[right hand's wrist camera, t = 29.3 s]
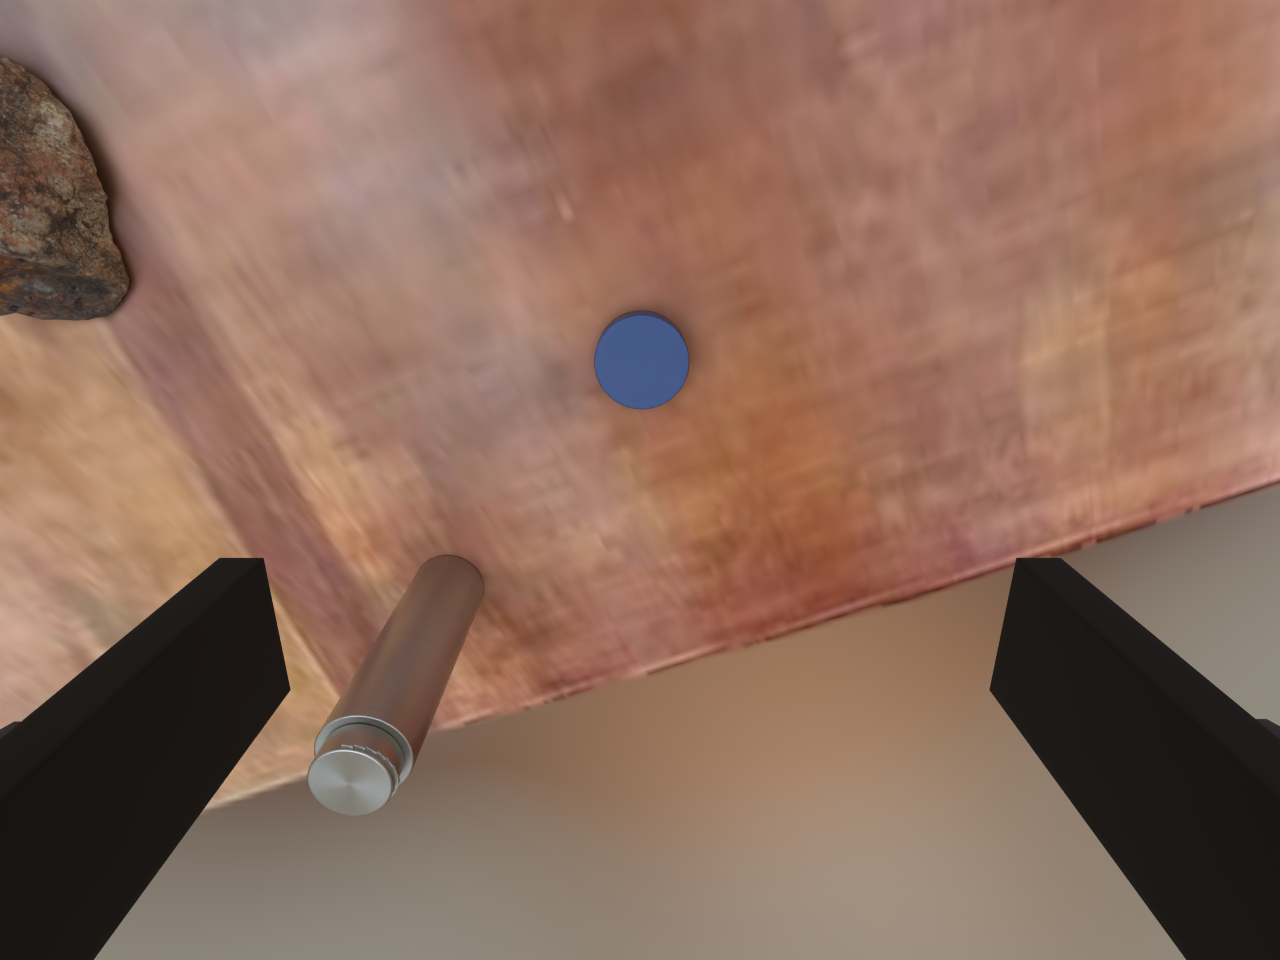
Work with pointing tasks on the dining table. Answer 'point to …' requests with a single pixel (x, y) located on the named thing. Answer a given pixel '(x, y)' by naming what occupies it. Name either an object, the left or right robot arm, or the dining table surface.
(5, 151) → the rock
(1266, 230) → the dining table surface
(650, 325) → the lid
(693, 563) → the dining table surface
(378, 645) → the metal flask
